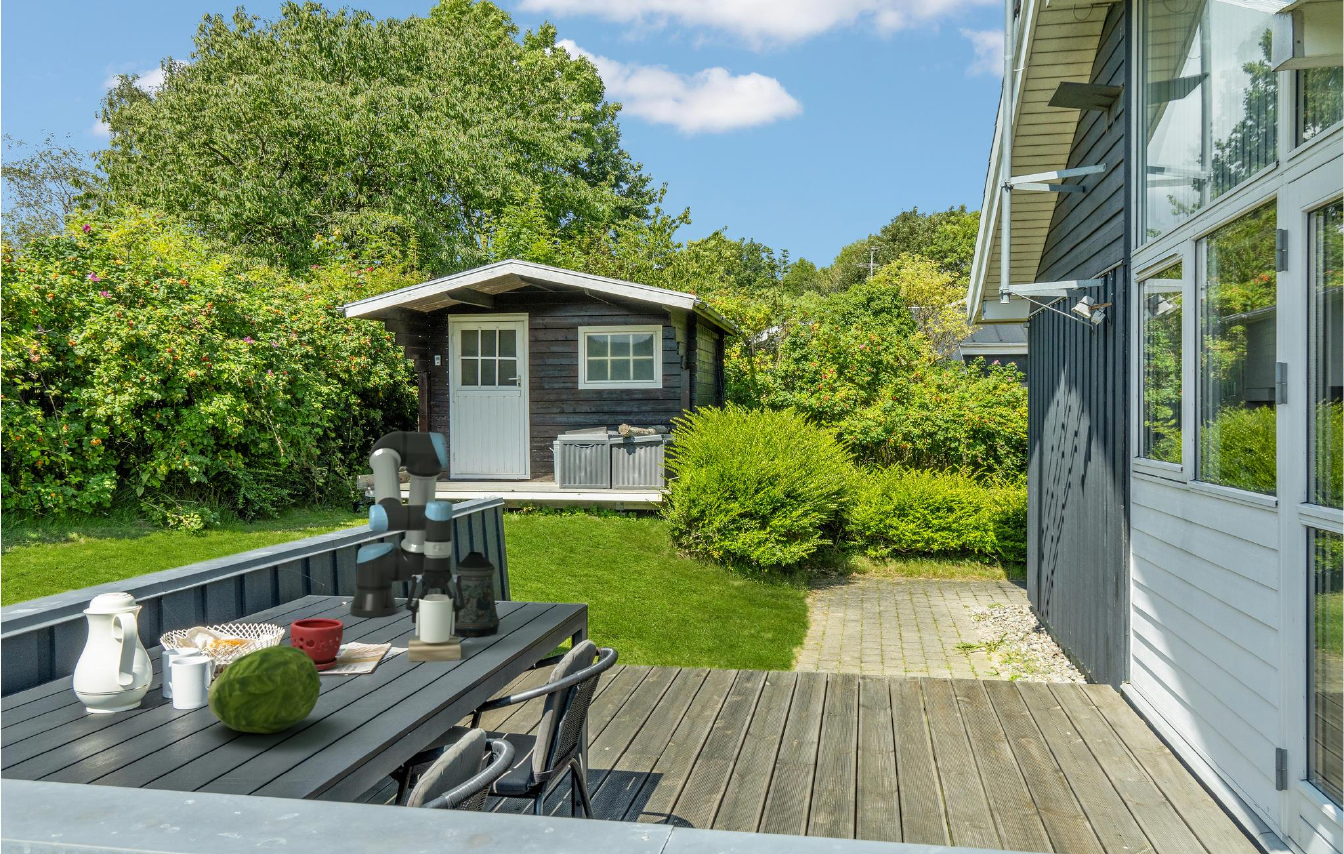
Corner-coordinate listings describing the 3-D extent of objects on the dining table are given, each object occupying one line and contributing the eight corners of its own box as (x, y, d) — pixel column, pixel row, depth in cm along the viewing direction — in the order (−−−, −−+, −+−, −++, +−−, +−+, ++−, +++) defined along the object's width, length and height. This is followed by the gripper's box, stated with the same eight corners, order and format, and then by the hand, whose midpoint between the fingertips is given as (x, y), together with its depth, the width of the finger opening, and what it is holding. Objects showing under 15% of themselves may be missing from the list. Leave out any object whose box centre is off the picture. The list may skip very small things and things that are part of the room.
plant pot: (324, 675, 237) (325, 629, 236) (278, 670, 239) (280, 625, 239) (351, 662, 249) (352, 619, 249) (308, 658, 252) (309, 615, 252)
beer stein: (469, 640, 278) (472, 559, 277) (429, 629, 289) (432, 551, 289) (510, 631, 291) (513, 554, 291) (469, 621, 303) (472, 546, 302)
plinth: (408, 649, 266) (408, 638, 266) (457, 647, 270) (457, 637, 270) (408, 661, 252) (409, 651, 252) (460, 659, 256) (460, 649, 256)
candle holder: (456, 636, 265) (458, 595, 265) (445, 644, 255) (446, 602, 255) (424, 634, 266) (425, 593, 266) (411, 642, 256) (413, 599, 256)
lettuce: (250, 710, 209) (231, 636, 206) (343, 702, 205) (324, 627, 202) (196, 755, 191) (174, 675, 188) (296, 748, 187) (275, 666, 183)
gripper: (397, 558, 254) (394, 638, 254) (477, 557, 260) (474, 635, 260) (397, 553, 261) (394, 631, 261) (475, 553, 267) (472, 629, 268)
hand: (434, 633), depth 261 cm, fingers closed on candle holder, 9 cm apart
